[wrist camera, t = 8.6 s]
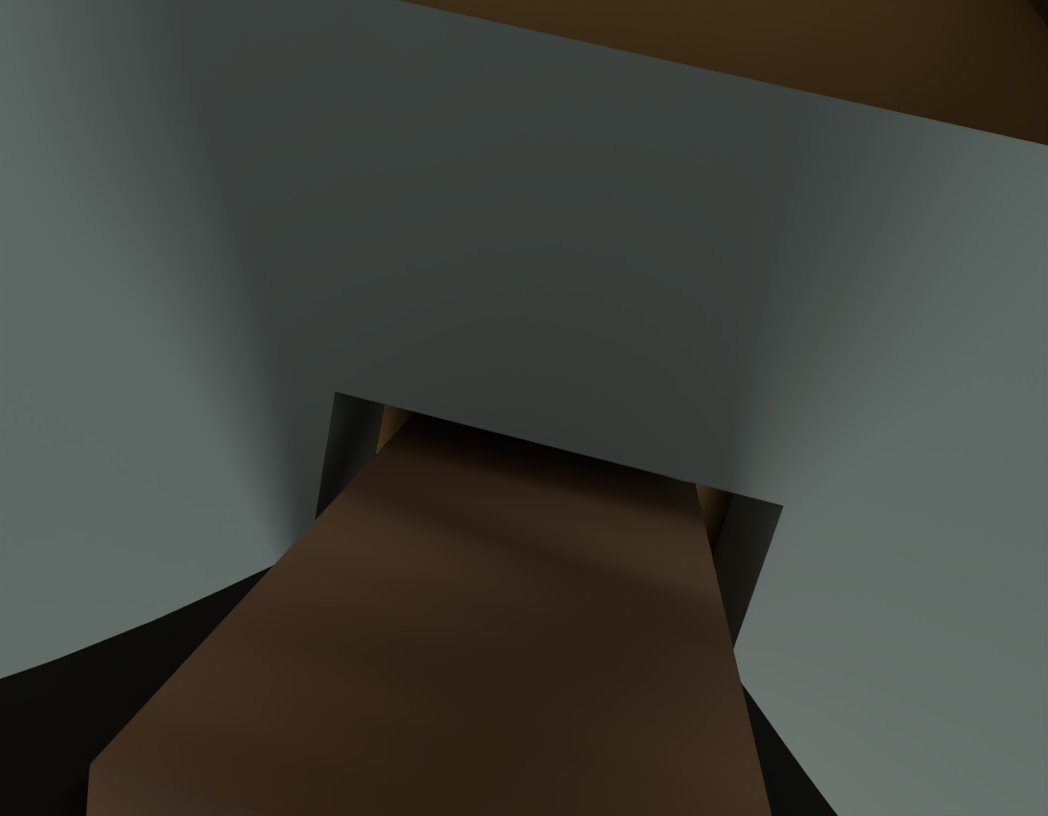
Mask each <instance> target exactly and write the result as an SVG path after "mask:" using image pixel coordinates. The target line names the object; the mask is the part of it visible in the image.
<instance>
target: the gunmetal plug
mask: <svg viewBox="0 0 1048 816" xmlns="http://www.w3.org/2000/svg"><path fill="white" fill-rule="evenodd" d="M1029 1H1030V3H1031V5H1032V7H1033V8H1034V10H1035V11H1036V12H1037V13H1038V15H1039V16H1040V17H1041V19H1042V20H1043V21H1044V22H1045V24H1046V25H1047V26H1048V0H1029Z"/></svg>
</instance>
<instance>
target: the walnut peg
mask: <svg viewBox="0 0 1048 816" xmlns="http://www.w3.org/2000/svg"><path fill="white" fill-rule="evenodd" d="M86 816H772V815H771V810H770V806H769V802H768V797H767V793H766V789H765V784H764V780H763V776H762V771H761V767H760V763H759V758H758V754H757V750H756V745H755V741H754V737H753V732H752V728H751V724H750V719H749V715H748V710H747V706H746V702H745V697H744V693H743V689H742V684H741V680H740V676H739V671H738V667H737V663H736V658H735V654H734V650H733V645H732V641H731V637H730V632H729V628H728V624H727V619H726V615H725V611H724V606H723V602H722V598H721V593H720V589H719V585H718V580H717V576H716V572H715V567H714V563H713V558H712V554H711V550H710V545H709V541H708V537H707V532H706V528H705V524H704V519H703V515H702V511H701V506H700V502H699V498H698V493H697V489H696V485H695V484H694V483H690V482H686V481H682V480H678V479H674V478H670V477H666V476H662V475H658V474H654V473H650V472H646V471H642V470H638V469H634V468H630V467H626V466H622V465H618V464H614V463H610V462H606V461H602V460H598V459H594V458H590V457H586V456H582V455H578V454H574V453H570V452H566V451H562V450H558V449H554V448H550V447H546V446H542V445H538V444H534V443H530V442H526V441H522V440H518V439H514V438H510V437H506V436H502V435H498V434H494V433H490V432H486V431H482V430H478V429H474V428H470V427H466V426H462V425H458V424H454V423H450V422H446V421H442V420H438V419H434V418H430V417H426V416H422V415H418V414H413V415H412V416H411V417H410V418H409V419H408V420H407V421H406V423H405V424H404V425H403V426H402V427H401V428H400V429H399V430H398V431H397V432H396V433H395V434H394V436H393V437H392V438H391V439H390V440H389V441H388V442H387V443H386V444H385V445H384V446H383V447H382V449H381V450H380V451H379V452H378V453H377V454H376V455H375V456H374V457H373V458H372V459H371V460H370V462H369V463H368V464H367V465H366V466H365V467H364V468H363V469H362V470H361V471H360V472H359V473H358V475H357V476H356V477H355V478H354V479H353V480H352V481H351V482H350V483H349V484H348V485H347V486H346V488H345V489H344V490H343V491H342V492H341V493H340V494H339V495H338V496H337V497H336V498H335V499H334V501H333V502H332V503H331V504H330V505H329V506H328V507H327V508H326V509H325V510H324V511H323V512H322V514H321V515H320V516H319V517H318V518H317V519H316V520H315V521H314V522H313V523H312V524H311V525H310V527H309V528H308V529H307V530H306V531H305V532H304V533H303V534H302V535H301V536H300V537H299V539H298V540H297V541H296V542H295V543H294V544H293V545H292V546H291V547H290V548H289V549H288V550H287V552H286V553H285V554H284V555H283V556H282V557H281V558H280V559H279V560H278V561H277V562H276V563H275V565H274V566H273V567H272V568H271V569H270V570H269V571H268V572H267V573H266V574H265V575H264V576H263V578H262V579H261V580H260V581H259V582H258V583H257V584H256V585H255V586H254V587H253V588H252V589H251V591H250V592H249V593H248V594H247V595H246V596H245V597H244V598H243V599H242V600H241V601H240V602H239V604H238V605H237V606H236V607H235V608H234V609H233V610H232V611H231V612H230V613H229V614H228V615H227V617H226V618H225V619H224V620H223V621H222V622H221V623H220V624H219V625H218V626H217V627H216V628H215V630H214V631H213V632H212V633H211V634H210V635H209V636H208V637H207V638H206V639H205V640H204V641H203V643H202V644H201V645H200V646H199V647H198V648H197V649H196V650H195V651H194V652H193V653H192V654H191V656H190V657H189V658H188V659H187V660H186V661H185V662H184V663H183V664H182V665H181V666H180V667H179V669H178V670H177V671H176V672H175V673H174V674H173V675H172V676H171V677H170V678H169V679H168V680H167V682H166V683H165V684H164V685H163V686H162V687H161V688H160V689H159V690H158V691H157V692H156V693H155V695H154V696H153V697H152V698H151V699H150V700H149V701H148V702H147V703H146V704H145V705H144V706H143V708H142V709H141V710H140V711H139V712H138V713H137V714H136V715H135V716H134V717H133V718H132V719H131V721H130V722H129V723H128V724H127V725H126V726H125V727H124V728H123V729H122V730H121V731H120V732H119V734H118V735H117V736H116V737H115V738H114V739H113V740H112V741H111V742H110V743H109V744H108V745H107V747H106V748H105V749H104V750H103V751H102V752H101V753H100V754H99V755H98V756H97V757H96V758H95V760H94V761H93V762H92V763H91V764H90V770H89V784H88V799H87V814H86Z"/></svg>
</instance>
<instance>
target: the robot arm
mask: <svg viewBox="0 0 1048 816" xmlns="http://www.w3.org/2000/svg"><path fill="white" fill-rule="evenodd" d="M273 566H274V565H273ZM273 566H271V567H268V568H266V569H264V570H262V571H260V572H258V573H255V574H253V575H251V576H249V577H247V578H245V579H243V580H241V581H239V582H236V583H234V584H232V585H230V586H228V587H226V588H224V589H222V590H219V591H217V592H215V593H213V594H211V595H208V596H206V597H204V598H202V599H200V600H197V601H195V602H193V603H191V604H189V605H186V606H184V607H182V608H180V609H178V610H175V611H173V612H171V613H169V614H166V615H164V616H162V617H160V618H157V619H155V620H153V621H150V622H148V623H145V624H143V625H140V626H138V627H135V628H133V629H130V630H128V631H125V632H123V633H120V634H118V635H115V636H113V637H110V638H108V639H105V640H103V641H101V642H98V643H96V644H93V645H91V646H88V647H86V648H83V649H81V650H78V651H76V652H73V653H71V654H68V655H66V656H63V657H61V658H58V659H55V660H52V661H49V662H47V663H44V664H41V665H38V666H36V667H33V668H30V669H27V670H24V671H21V672H18V673H15V674H12V675H9V676H6V677H3V678H1V679H0V816H86V814H87V799H88V784H89V770H90V764H91V763H92V762H93V761H94V760H95V758H96V757H97V756H98V755H99V754H100V753H101V752H102V751H103V750H104V749H105V748H106V747H107V745H108V744H109V743H110V742H111V741H112V740H113V739H114V738H115V737H116V736H117V735H118V734H119V732H120V731H121V730H122V729H123V728H124V727H125V726H126V725H127V724H128V723H129V722H130V721H131V719H132V718H133V717H134V716H135V715H136V714H137V713H138V712H139V711H140V710H141V709H142V708H143V706H144V705H145V704H146V703H147V702H148V701H149V700H150V699H151V698H152V697H153V696H154V695H155V693H156V692H157V691H158V690H159V689H160V688H161V687H162V686H163V685H164V684H165V683H166V682H167V680H168V679H169V678H170V677H171V676H172V675H173V674H174V673H175V672H176V671H177V670H178V669H179V667H180V666H181V665H182V664H183V663H184V662H185V661H186V660H187V659H188V658H189V657H190V656H191V654H192V653H193V652H194V651H195V650H196V649H197V648H198V647H199V646H200V645H201V644H202V643H203V641H204V640H205V639H206V638H207V637H208V636H209V635H210V634H211V633H212V632H213V631H214V630H215V628H216V627H217V626H218V625H219V624H220V623H221V622H222V621H223V620H224V619H225V618H226V617H227V615H228V614H229V613H230V612H231V611H232V610H233V609H234V608H235V607H236V606H237V605H238V604H239V602H240V601H241V600H242V599H243V598H244V597H245V596H246V595H247V594H248V593H249V592H250V591H251V589H252V588H253V587H254V586H255V585H256V584H257V583H258V582H259V581H260V580H261V579H262V578H263V576H264V575H265V574H266V573H267V572H268V571H269V570H270V569H271V568H272V567H273ZM741 684H742V683H741ZM742 689H743V693H744V697H745V702H746V706H747V710H748V715H749V719H750V724H751V728H752V732H753V737H754V741H755V745H756V750H757V754H758V758H759V763H760V767H761V771H762V776H763V780H764V784H765V789H766V793H767V797H768V802H769V806H770V810H771V815H772V816H838V815H837V814H836V812H835V811H834V810H833V808H832V807H831V806H830V805H829V803H828V802H827V801H826V799H825V798H824V797H823V795H822V794H821V793H820V791H819V790H818V789H817V787H816V786H815V784H814V783H813V782H812V780H811V779H810V778H809V776H808V775H807V774H806V772H805V771H804V770H803V768H802V767H801V765H800V764H799V763H798V761H797V760H796V758H795V757H794V756H793V754H792V753H791V752H790V750H789V749H788V747H787V746H786V745H785V743H784V742H783V740H782V739H781V737H780V736H779V735H778V733H777V732H776V730H775V729H774V728H773V726H772V725H771V723H770V722H769V721H768V719H767V718H766V716H765V715H764V713H763V712H762V711H761V709H760V708H759V706H758V705H757V704H756V702H755V701H754V699H753V698H752V696H751V695H750V694H749V692H748V691H747V690H746V688H745V687H744V685H743V684H742Z"/></svg>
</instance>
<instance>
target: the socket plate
mask: <svg viewBox="0 0 1048 816" xmlns="http://www.w3.org/2000/svg"><path fill="white" fill-rule="evenodd" d="M384 404H386V405H390V406H394V407H398V408H402V409H406V410H410V411H414V412H417V413H421V414H425V415H429V416H433V417H437V418H441V419H445V420H449V421H453V422H457V423H461V424H465V425H469V426H473V427H476V428H480V429H484V430H488V431H492V432H496V433H500V434H504V435H508V436H512V437H516V438H520V439H524V440H528V441H531V442H535V443H539V444H543V445H547V446H551V447H555V448H559V449H563V450H567V451H571V452H575V453H579V454H583V455H586V456H590V457H594V458H598V459H602V460H606V461H610V462H614V463H618V464H622V465H626V466H630V467H634V468H638V469H642V470H645V471H649V472H653V473H657V474H661V475H665V476H669V477H673V478H677V479H681V480H685V481H689V482H693V483H697V484H700V485H704V486H708V487H712V488H716V489H720V490H724V491H728V492H732V493H733V496H732V499H731V502H730V505H729V509H728V512H727V515H726V518H725V521H724V524H723V527H722V530H721V533H720V536H719V539H718V542H717V545H716V548H715V551H714V554H713V557H712V558H713V563H714V567H715V572H716V576H717V580H718V585H719V589H720V593H721V598H722V602H723V606H724V611H725V615H726V619H727V624H728V628H729V632H730V637H731V641H732V645H733V650H734V654H735V658H736V663H737V667H738V671H739V676H740V680H741V683H742V684H743V685H744V687H745V688H746V690H747V691H748V692H749V694H750V695H751V696H752V698H753V699H754V701H755V702H756V704H757V705H758V706H759V708H760V709H761V711H762V712H763V713H764V715H765V716H766V718H767V719H768V721H769V722H770V723H771V725H772V726H773V728H774V729H775V730H776V732H777V733H778V735H779V736H780V737H781V739H782V740H783V742H784V743H785V745H786V746H787V747H788V749H789V750H790V752H791V753H792V754H793V756H794V757H795V758H796V760H797V761H798V763H799V764H800V765H801V767H802V768H803V770H804V771H805V772H806V774H807V775H808V776H809V778H810V779H811V780H812V782H813V783H814V784H815V786H816V787H817V789H818V790H819V791H820V793H821V794H822V795H823V797H824V798H825V799H826V801H827V802H828V803H829V805H830V806H831V807H832V808H833V810H834V811H835V812H836V814H837V815H838V816H1048V145H1043V144H1039V143H1034V142H1030V141H1025V140H1021V139H1017V138H1012V137H1008V136H1003V135H999V134H994V133H990V132H985V131H981V130H976V129H972V128H967V127H963V126H958V125H954V124H950V123H945V122H941V121H936V120H932V119H927V118H923V117H918V116H914V115H909V114H905V113H900V112H896V111H891V110H887V109H883V108H878V107H874V106H869V105H865V104H860V103H856V102H851V101H847V100H842V99H838V98H833V97H829V96H825V95H820V94H816V93H811V92H807V91H802V90H798V89H793V88H789V87H784V86H780V85H775V84H771V83H766V82H762V81H758V80H753V79H749V78H744V77H740V76H735V75H731V74H726V73H722V72H717V71H713V70H708V69H704V68H699V67H695V66H691V65H686V64H682V63H677V62H673V61H668V60H664V59H659V58H655V57H650V56H646V55H641V54H637V53H632V52H628V51H624V50H619V49H615V48H610V47H606V46H601V45H597V44H592V43H588V42H583V41H579V40H574V39H570V38H565V37H561V36H557V35H552V34H548V33H543V32H539V31H534V30H530V29H525V28H521V27H516V26H512V25H507V24H503V23H498V22H494V21H490V20H485V19H481V18H476V17H472V16H467V15H463V14H458V13H454V12H449V11H445V10H440V9H436V8H431V7H427V6H423V5H418V4H414V3H409V2H405V1H400V0H0V679H1V678H3V677H6V676H9V675H12V674H15V673H18V672H21V671H24V670H27V669H30V668H33V667H36V666H38V665H41V664H44V663H47V662H49V661H52V660H55V659H58V658H61V657H63V656H66V655H68V654H71V653H73V652H76V651H78V650H81V649H83V648H86V647H88V646H91V645H93V644H96V643H98V642H101V641H103V640H105V639H108V638H110V637H113V636H115V635H118V634H120V633H123V632H125V631H128V630H130V629H133V628H135V627H138V626H140V625H143V624H145V623H148V622H150V621H153V620H155V619H157V618H160V617H162V616H164V615H166V614H169V613H171V612H173V611H175V610H178V609H180V608H182V607H184V606H186V605H189V604H191V603H193V602H195V601H197V600H200V599H202V598H204V597H206V596H208V595H211V594H213V593H215V592H217V591H219V590H222V589H224V588H226V587H228V586H230V585H232V584H234V583H236V582H239V581H241V580H243V579H245V578H247V577H249V576H251V575H253V574H255V573H258V572H260V571H262V570H264V569H266V568H268V567H271V566H273V565H275V563H276V562H277V561H278V560H279V559H280V558H281V557H282V556H283V555H284V554H285V553H286V552H287V550H288V549H289V548H290V547H291V546H292V545H293V544H294V543H295V542H296V541H297V540H298V539H299V537H300V536H301V535H302V534H303V533H304V532H305V531H306V530H307V529H308V528H309V527H310V525H311V524H312V523H313V522H314V521H315V520H316V519H317V518H318V517H319V516H320V515H321V514H322V512H323V511H324V510H325V509H326V508H327V507H328V506H329V505H330V504H331V503H332V502H333V501H334V499H335V498H336V497H337V496H338V495H339V494H340V493H341V492H342V491H343V490H344V489H345V488H346V486H347V485H348V484H349V483H350V482H351V481H352V480H353V479H354V478H355V477H356V476H357V475H358V473H359V472H360V471H361V470H362V469H363V468H364V467H365V466H366V465H367V464H368V463H369V462H370V460H371V459H372V458H373V457H374V456H375V454H376V448H377V443H378V437H379V431H380V426H381V420H382V415H383V409H384Z"/></svg>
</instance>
